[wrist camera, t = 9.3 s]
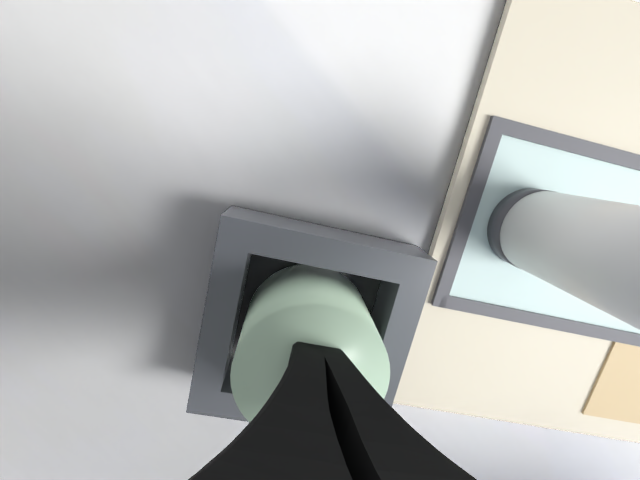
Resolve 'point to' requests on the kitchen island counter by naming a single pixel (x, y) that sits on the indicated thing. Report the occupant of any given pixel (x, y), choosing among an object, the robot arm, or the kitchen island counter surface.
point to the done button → (303, 332)
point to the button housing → (314, 250)
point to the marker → (573, 246)
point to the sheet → (547, 174)
